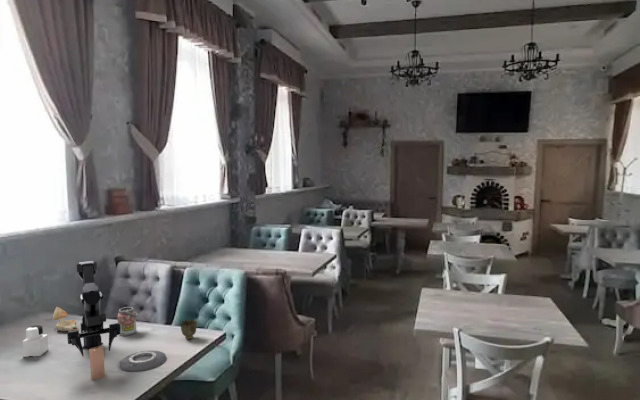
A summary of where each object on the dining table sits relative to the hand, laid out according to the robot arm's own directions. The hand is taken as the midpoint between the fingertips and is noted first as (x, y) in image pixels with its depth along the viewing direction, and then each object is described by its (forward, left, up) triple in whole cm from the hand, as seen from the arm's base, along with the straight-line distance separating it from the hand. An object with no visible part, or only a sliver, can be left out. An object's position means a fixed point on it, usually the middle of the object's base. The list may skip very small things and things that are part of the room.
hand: (96, 353), depth 172 cm
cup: (+19, +39, -9) cm, 44 cm away
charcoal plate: (+11, +13, -9) cm, 19 cm away
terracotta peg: (+1, -1, -9) cm, 9 cm away
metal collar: (+11, +13, -9) cm, 19 cm away
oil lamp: (-48, +42, -9) cm, 65 cm away
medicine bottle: (-41, +15, -9) cm, 45 cm away
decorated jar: (-14, +42, -9) cm, 45 cm away
